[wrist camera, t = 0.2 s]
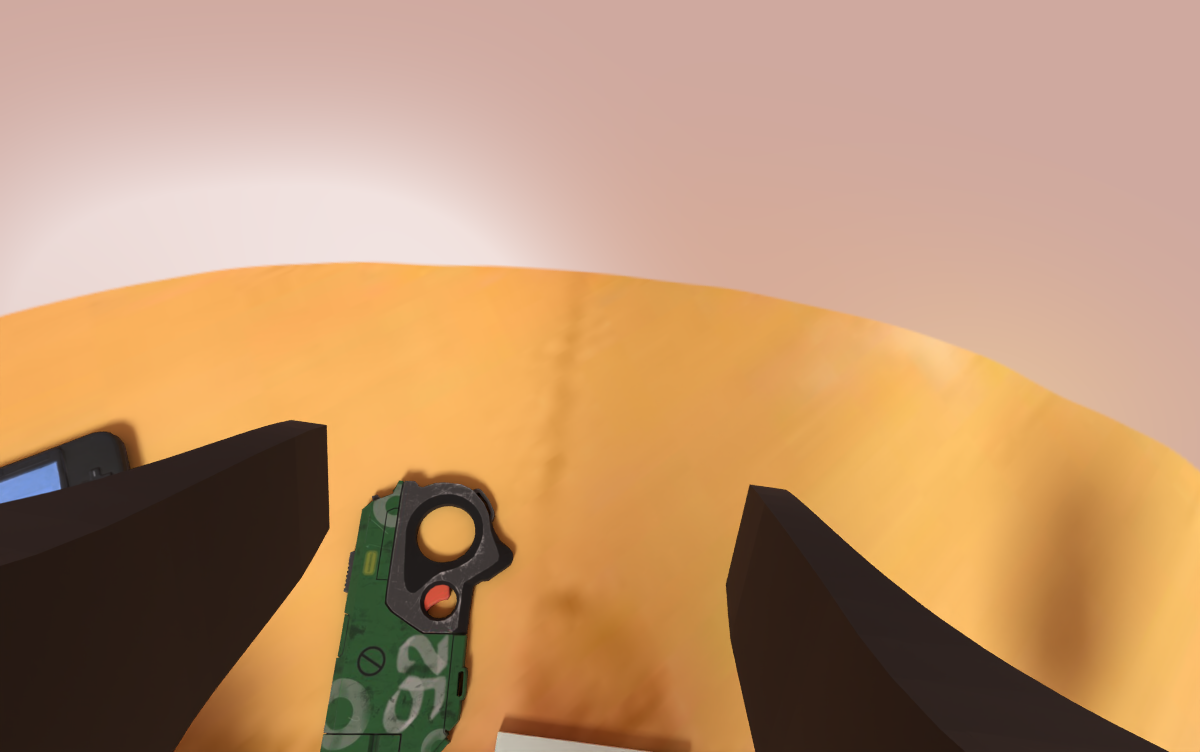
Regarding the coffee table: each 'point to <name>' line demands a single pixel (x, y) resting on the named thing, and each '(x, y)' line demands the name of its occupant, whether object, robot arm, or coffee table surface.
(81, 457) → the handheld game console
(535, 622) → the coffee table surface
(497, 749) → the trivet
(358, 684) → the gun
